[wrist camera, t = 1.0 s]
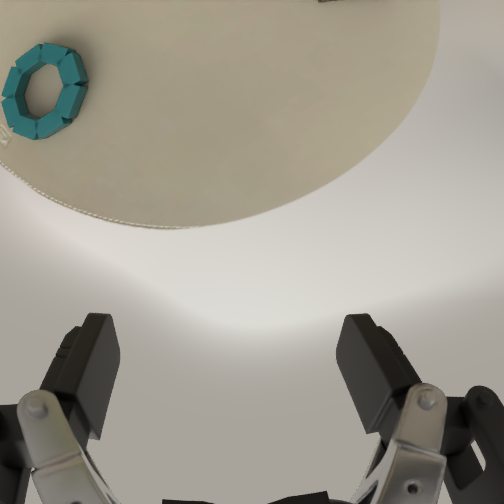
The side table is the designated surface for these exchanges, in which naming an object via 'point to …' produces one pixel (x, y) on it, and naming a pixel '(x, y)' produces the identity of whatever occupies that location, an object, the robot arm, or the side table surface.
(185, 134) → the side table surface
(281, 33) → the side table surface
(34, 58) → the ring
